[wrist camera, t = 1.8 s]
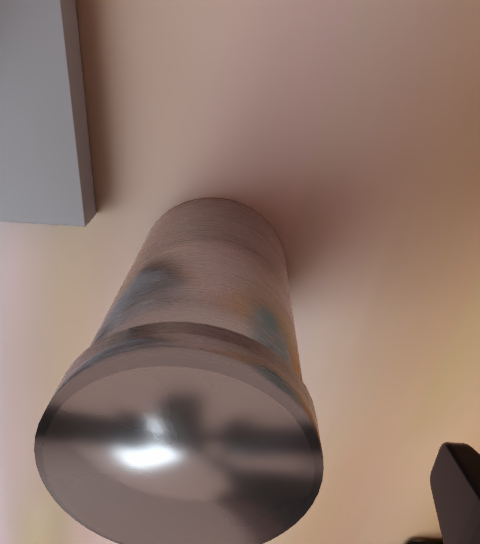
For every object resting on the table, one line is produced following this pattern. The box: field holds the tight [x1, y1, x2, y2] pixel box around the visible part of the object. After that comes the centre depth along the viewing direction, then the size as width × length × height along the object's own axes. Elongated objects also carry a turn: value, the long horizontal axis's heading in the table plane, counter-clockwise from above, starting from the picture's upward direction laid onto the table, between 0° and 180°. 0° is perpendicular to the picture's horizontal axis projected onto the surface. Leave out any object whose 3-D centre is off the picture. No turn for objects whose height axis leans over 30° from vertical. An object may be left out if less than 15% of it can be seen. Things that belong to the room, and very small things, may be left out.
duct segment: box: [34, 198, 324, 544], centre depth 11 cm, size 5×5×8 cm
